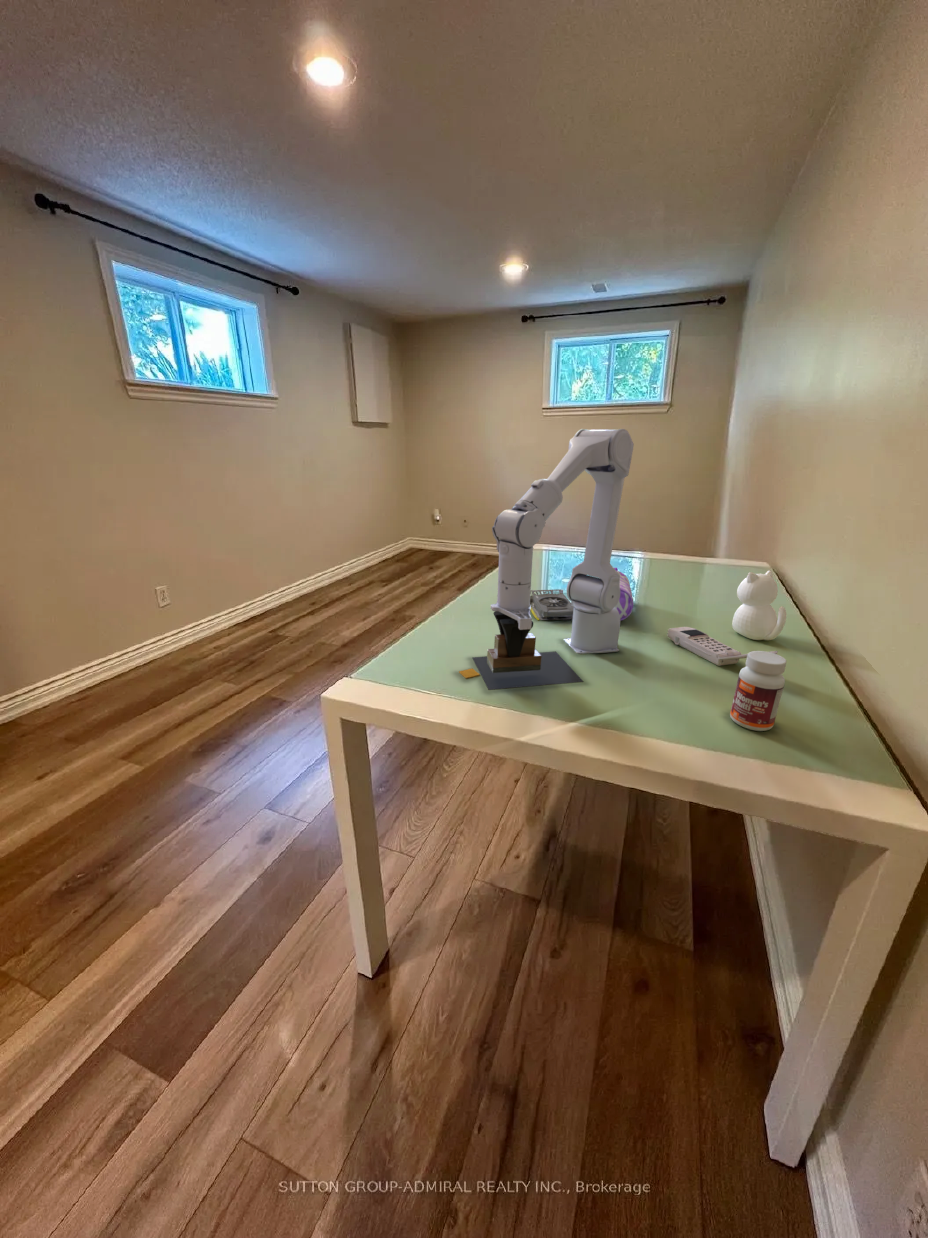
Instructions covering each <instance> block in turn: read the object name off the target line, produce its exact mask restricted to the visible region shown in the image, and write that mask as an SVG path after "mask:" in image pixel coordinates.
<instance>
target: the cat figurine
mask: <svg viewBox="0 0 928 1238" xmlns="http://www.w3.org/2000/svg"><path fill="white" fill-rule="evenodd" d="M773 575H774V574H773V571H772V570H769V569H768V570H767V571H766V572H765V573H754V572H753V571H751V572H748V574H747V576H746V577H745V578H744V579H742V581H741V582H740V583H739V585H738V587H737V590H736V596H737V598H738V601H740V603H741V605H740V606H739V607H737V608H736V610H735V612H734V614H733V617H732V623H731V627H732V629H733V631H734V632H735V633H737V634H739V635H741V636H743V637H745V638H747V639H750V640H752V641H772V640H775V639H776V638H778V636H779V635H780V634H781V632H782V631H783V629H784V627H785V625H786V621H787V610H786V607H784V606H779V608H778V612H776V610H775V608H774V607H773V606H772V605H771V604H773V602H775V600H776V599H777V596H778V593H779V587H778V583H777V581H776V580H775V579H774V576H773ZM777 613H778V614H777Z"/></svg>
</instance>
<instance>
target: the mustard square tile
mask: <svg viewBox="0 0 928 1238" xmlns="http://www.w3.org/2000/svg"><path fill="white" fill-rule="evenodd" d="M458 674H460V675H461V676H463V678H464V679H466V680H467V679H470V678H476V677H480V676H481V674H480V672H479V671H478V672H477V670H475V669H474V668H472V667H471V668H468V669H463V670H459V671H458Z"/></svg>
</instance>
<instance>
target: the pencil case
mask: <svg viewBox="0 0 928 1238" xmlns="http://www.w3.org/2000/svg"><path fill="white" fill-rule="evenodd" d="M613 568H614V569H615V570H616V571H617V572H618V573H619V574H620V598H619V601H618V603H617V605H616V606H615V608H616V609H617V610H618V612H619V615H620V622H622V621H625V620H626V619H627V618H629V617H630V616H631V614H632V612H633V610H634V597H633V592H632V588H631V584H630V580H629V577H628V576H627V575H626V574H625V573H623V572H622V571H619V570H618V569H619V568H618V567H613Z"/></svg>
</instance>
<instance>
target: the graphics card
mask: <svg viewBox="0 0 928 1238" xmlns="http://www.w3.org/2000/svg"><path fill="white" fill-rule="evenodd" d="M538 592H539V593H538ZM530 605H531V611H530V613H531V614H532V615H533V617H534V619H536V621H540V620H541V621H548V620H552V621H553V620H573V610H574V606H571V601H570V600H569V599H568V597H567V595H565V593H564V589H560V588H559V589H531V594H530Z"/></svg>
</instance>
